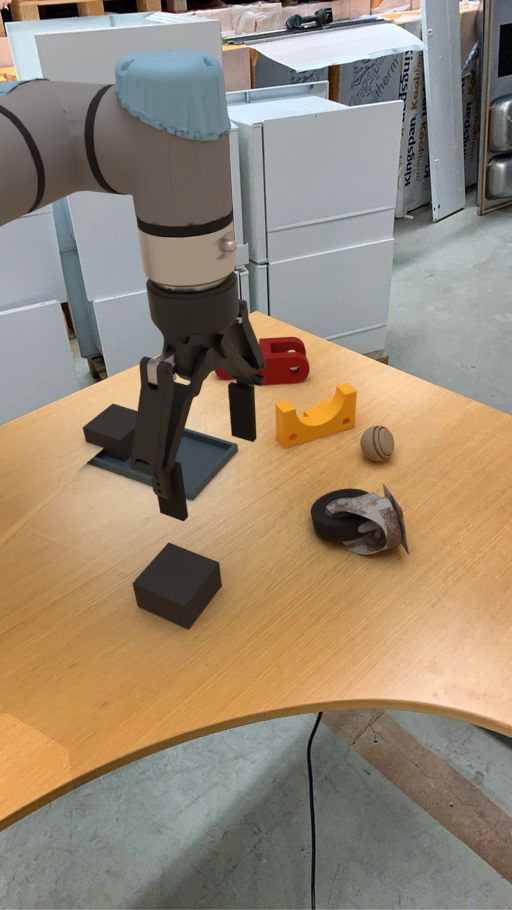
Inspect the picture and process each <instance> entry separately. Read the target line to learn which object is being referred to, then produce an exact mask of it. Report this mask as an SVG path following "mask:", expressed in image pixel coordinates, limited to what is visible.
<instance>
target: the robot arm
mask: <svg viewBox="0 0 512 910" xmlns="http://www.w3.org/2000/svg"><path fill="white" fill-rule="evenodd" d="M224 73H225V72H224V70H223V66H222V64H221V62H220V60H219V59H218V58H217V57H216V56H215V55H214V54H212V53H210V52H207V51H205V50H198V49H184V48H183V49H172V50H171V49H170V50H167V49H157V50H156V49H155V50H146V51H138V52H134V53H131V54H127V55H124V56H122V57H120V58H119V59H118V60H117V62H116V64H115V67H114V77H115V83H111V84H110V83H109V84H108V83H95V82H94V83H91V82H75V81H62V80H50V79H49V78H46V77H35V78H32V79H27V80H26V79H25V80H9V81H6V82H4V83H2V84H0V228H1V227H3V226H5V225H7V224H9V223H12V222H13V221H15V220H17V219H19V218H21V217H23V216H25V215H28V214H31V213H34V212H35V211H38V210H40V209H42V208H44V207H47V206H49V205H51V204H53V203H55V202H57V201H59V200H61V199H64V198H66V197H68V196H70V195H73V194H74V193H79V192H93V193H104V194H112V195H121V196H132V201H133V207H134V214H135V217H136V224H137V225H136V228H137V235H138V242H139V249H140V258H141V263H142V272H143V273H144V275H145V277H146V278H148V279H147V280H146V283H145V287H146V294H147V300H148V301H147V302H148V308H149V315H150V319H151V321H152V323H153V325H155V326H156V328H157V329H158V330H159V332H160V333H161V335H162V336H163V344H162V351H161V354H160V355H158V356H156V357H155V358H153V357H149V356H142V357H141V359H140V361H139V376H140V377H139V378H140V389H139V397H138V404H137V410H136V411H137V418H136V425H135V433H134V440H133V447H132V454H131V462H130V469H131V470H133V471H136V472H139V473H142V474H145V475H147V476H150V477H151V480H152V486H153V487H152V486H151V487H152V491H153V493H154V495H156V497H157V502H158V503H157V504H158V507H159V513H160V514H162V515H165V516H167V517H170V518H172V519H176V520H178V521H181V522H185V521H187V519H188V518H189V511H188V505H187V499H186V496H185V489H184V482H183V474H182V467H181V463H179V462H176V461H175V460H176V456H177V453H178V449H179V446H180V442H181V439H182V435H183V432H184V428H186V424H187V422H188V418H189V414H190V410H191V406H192V404H193V400H194V398H196V397H198V396H199V395H200V394H201V391H202V387H203V383H204V381H205V380H207V378H208V377H209V375H210V374H211V373H212V372H215V370H216V369H217V368H218V367H221V368H222V369H223V370H224V371H225V372H226V373H227V374H228V375H229V376H230V377H231V378H232V379H234V381H236V382H234V381H230V382H229V383H228V385H227V391H228V393H227V394H228V404H229V405H228V406H229V419H230V433H231V434H230V435H231V437H235V438H237V439H241V440H244V441H246V442H247V441H248V442H251V443H254V442H255V441H256V440H257V438H258V437H257V418H256V415H257V414H256V395H255V394H256V393H255V392H256V391H255V386H257V387H263V386H264V385H263V383H264V379H265V378H264V375H261V374H257V372H258V371H259V370H260V371H263V370H264V369H265V367H266V361H265V358H264V356H263V353H262V351H261V348H260V346H259V340H258V338H257V336H256V333H255V330H254V328H253V326H252V322H251V321H250V316H249V309H248V302H247V300H246V299H240V298H239V297H240V296H239V284H238V283H239V282H238V275H237V273H236V272H235V271H234V270H236V267H237V258H236V250H237V248H238V244H237V241H236V240H235V226H234V208H233V206H234V205H233V196H232V195H233V194H232V193H233V192H232V171H231V168H232V167H231V149H230V148H231V144H230V134H231V130H232V124H231V119H230V117H229V110H228V102H227V101H228V100H227V92H226V83H225V82H226V81H225V74H224ZM177 376H178V377H179V378H180V379H182V380H185V381H189V383H188V384H186V383H181V382H177V381H176V380H177ZM164 454H165V455H164Z"/></svg>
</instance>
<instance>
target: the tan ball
mask: <svg viewBox="0 0 512 910" xmlns="http://www.w3.org/2000/svg"><path fill="white" fill-rule="evenodd" d="M359 445H360V449H361V452H362V454H363V455H364V456H365V457H366V458H368V459H369V460H371V461H374V462H382V461H386V460H388V459H390V457H392V455H393V454H394V450H395V439H394V435H393V434H392V432H391V431H390V430H389V429H388V428H387V427H386V426H384V425H372V426H370V427H368V428H367V429H366V430H365V431H364V432H363V433H362V435H361V437H360V444H359Z"/></svg>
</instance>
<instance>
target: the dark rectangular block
mask: <svg viewBox="0 0 512 910" xmlns="http://www.w3.org/2000/svg"><path fill="white" fill-rule="evenodd" d="M220 564H221V563H220V562H219V561H217V560H214V559H212V558H209V557H207V556H204V555H202V554H200V553H197V552H194V551H192V550H189V549H187V548H184V547H182V546H179V545H176V544H174V543H171V542H167V543H166V545H165V546H164V547H163V548H162V549H161V550H160V551H159V552H158V554H157V555H156V556H155V557H154V558H153V559H152V560H151V561H150V562H149V564H148V565H147V566H146V567H145V568H144V569H143V571H142V572H140V574H138V576H137V577H136V578H135V579H134V581H133V582H132V589H133V593H134V596H135V601H136V605H137V607H138V608H140V609H142V610H144V611H146V612H149V613H151V614H154V615H156V616H157V617H160V618H162V619H164V620H166V621H169V622H171V623H173V624H175V625H177V626H180V627H181V628H184V629H186V630H188V631H189V630H190V629H191V628H192V626H193V625H194V624H195V622H196V621H197V620H198V618H199V617H200V616H201V614H202V613H203V611H204V610H205V609H206V608H207V607H208V605H209V604H210V602H211V601H212V599H213V598H214V597H215V595H216V594H217V593H218V591H219V590H220V589H221V588H222V586H223V583H222V575H221V567H220Z"/></svg>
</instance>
